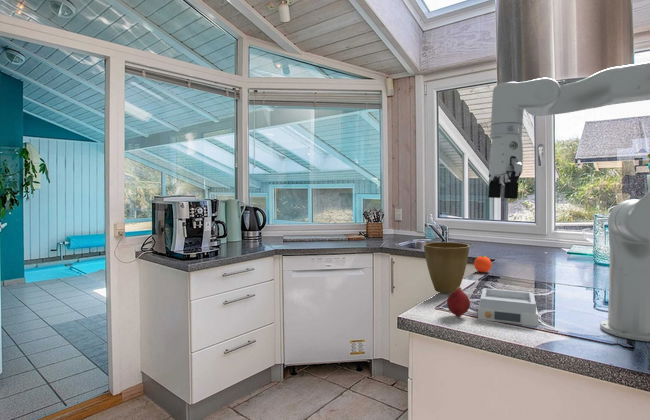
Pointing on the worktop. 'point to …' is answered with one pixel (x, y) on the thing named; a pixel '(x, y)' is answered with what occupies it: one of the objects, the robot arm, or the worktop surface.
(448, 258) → the plant pot
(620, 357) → the worktop surface
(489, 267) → the clementine
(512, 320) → the scale
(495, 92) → the robot arm
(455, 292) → the onion
